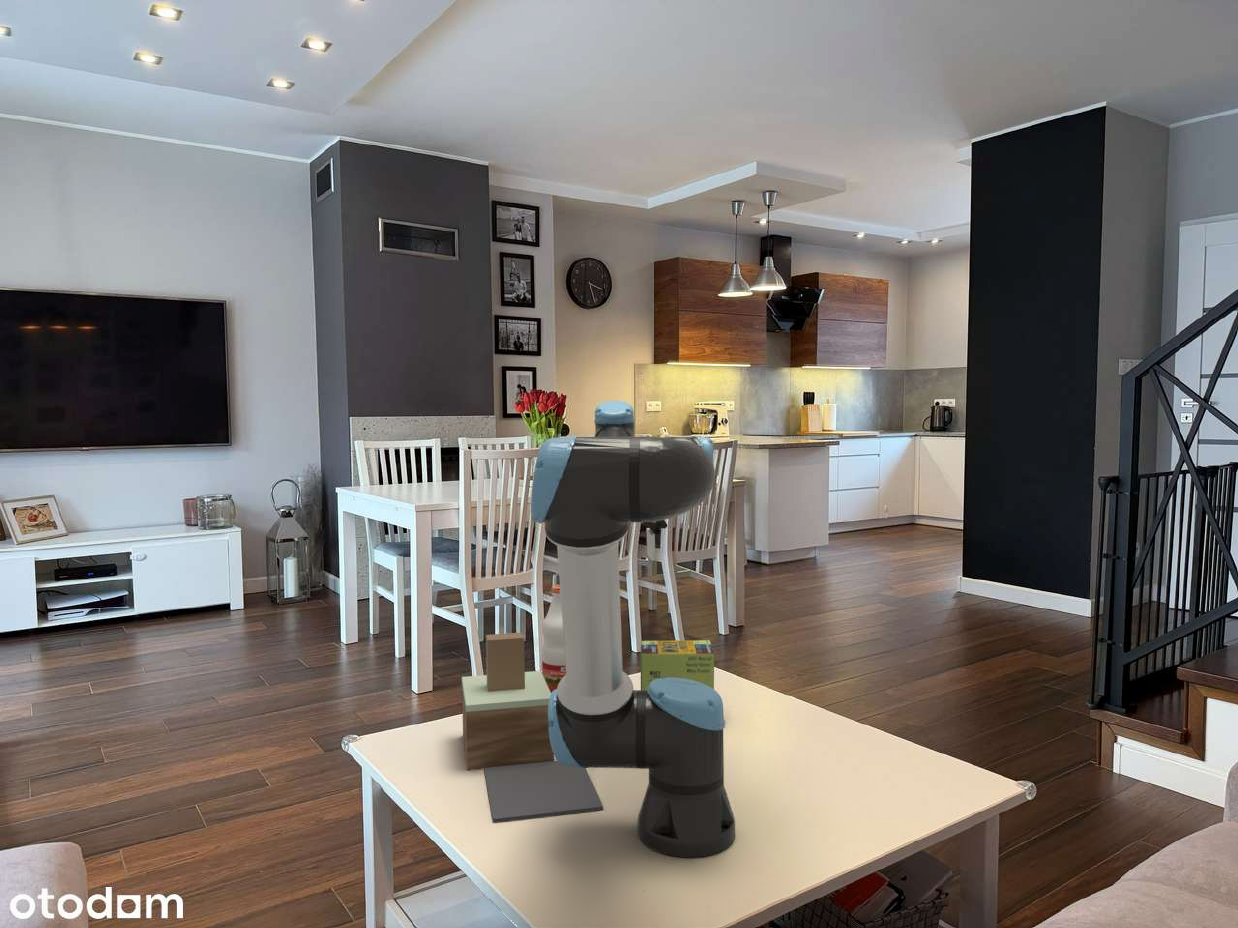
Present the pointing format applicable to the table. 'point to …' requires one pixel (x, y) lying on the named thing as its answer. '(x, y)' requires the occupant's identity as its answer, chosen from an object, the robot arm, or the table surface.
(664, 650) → the protein box
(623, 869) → the table surface
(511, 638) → the lid
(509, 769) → the mat
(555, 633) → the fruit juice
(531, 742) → the box
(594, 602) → the robot arm
